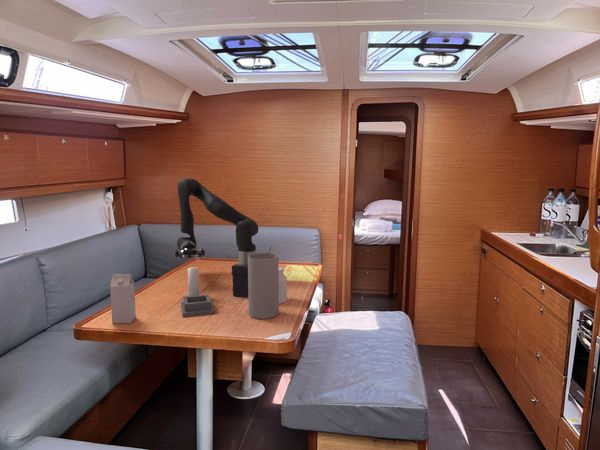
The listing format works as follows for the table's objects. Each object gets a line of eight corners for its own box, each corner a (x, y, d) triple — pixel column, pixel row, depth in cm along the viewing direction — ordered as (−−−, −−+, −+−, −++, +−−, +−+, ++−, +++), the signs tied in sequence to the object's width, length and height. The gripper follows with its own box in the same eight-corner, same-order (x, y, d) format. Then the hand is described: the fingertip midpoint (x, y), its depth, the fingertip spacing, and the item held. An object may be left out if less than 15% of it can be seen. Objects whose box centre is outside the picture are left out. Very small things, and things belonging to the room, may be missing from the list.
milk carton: (118, 317, 179) (115, 272, 176) (135, 317, 179) (133, 272, 177) (112, 323, 172) (109, 276, 169) (130, 323, 172) (128, 276, 170)
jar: (260, 303, 197) (259, 270, 195) (263, 296, 207) (263, 265, 205) (285, 304, 196) (285, 271, 194) (288, 297, 206) (288, 266, 204)
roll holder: (210, 302, 198) (210, 292, 198) (214, 313, 183) (214, 303, 183) (180, 305, 195) (180, 295, 194) (182, 317, 179) (182, 306, 179)
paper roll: (199, 295, 208) (198, 267, 206) (200, 298, 203) (199, 269, 201) (188, 296, 207) (187, 267, 205) (189, 299, 202) (187, 270, 200)
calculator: (257, 296, 207) (256, 265, 205) (253, 298, 203) (252, 267, 201) (236, 294, 211) (235, 263, 209) (232, 296, 207) (231, 265, 205)
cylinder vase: (281, 318, 178) (281, 258, 175) (251, 321, 175) (250, 260, 171) (274, 308, 190) (274, 252, 187) (246, 311, 187) (245, 253, 183)
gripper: (174, 242, 226) (175, 248, 210) (202, 241, 230) (205, 247, 215) (174, 257, 227) (175, 264, 211) (202, 255, 231) (205, 262, 216)
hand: (190, 255), depth 213 cm, fingers open, 8 cm apart
